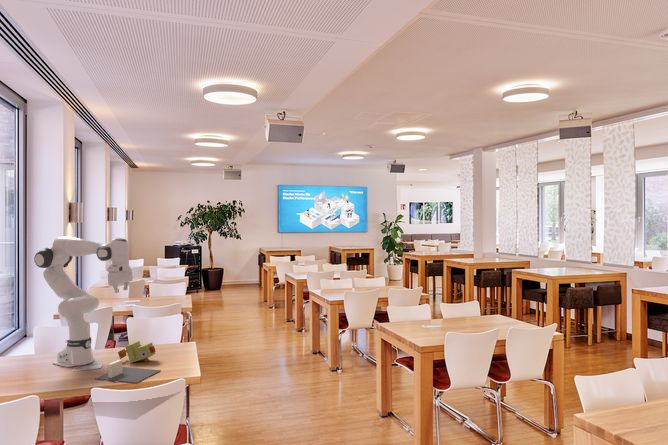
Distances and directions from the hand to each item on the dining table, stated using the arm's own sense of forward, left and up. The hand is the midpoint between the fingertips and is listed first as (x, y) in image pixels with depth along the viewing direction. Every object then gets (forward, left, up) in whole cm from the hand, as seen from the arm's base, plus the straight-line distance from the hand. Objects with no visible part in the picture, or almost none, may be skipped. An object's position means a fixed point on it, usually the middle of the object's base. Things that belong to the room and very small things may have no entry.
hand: (121, 291), depth 274 cm
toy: (0, +13, -44) cm, 45 cm away
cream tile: (+6, -13, -43) cm, 45 cm away
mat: (+12, -10, -43) cm, 46 cm away
